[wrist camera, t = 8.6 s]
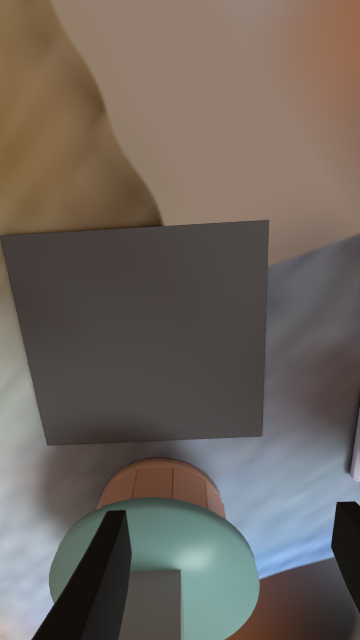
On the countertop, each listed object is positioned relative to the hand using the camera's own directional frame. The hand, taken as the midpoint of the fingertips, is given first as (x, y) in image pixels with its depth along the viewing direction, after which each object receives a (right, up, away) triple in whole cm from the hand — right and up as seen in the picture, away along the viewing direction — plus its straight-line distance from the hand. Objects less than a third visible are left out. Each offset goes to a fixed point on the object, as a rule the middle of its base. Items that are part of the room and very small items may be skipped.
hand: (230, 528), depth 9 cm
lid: (-3, -9, +8) cm, 13 cm away
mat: (-4, +5, +9) cm, 12 cm away
